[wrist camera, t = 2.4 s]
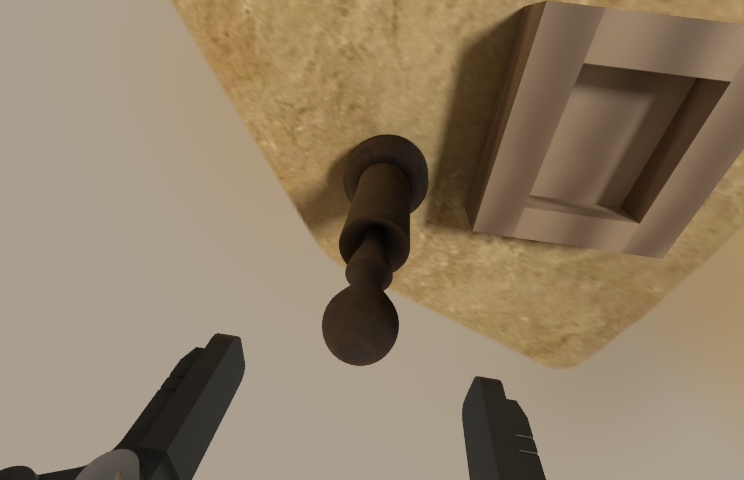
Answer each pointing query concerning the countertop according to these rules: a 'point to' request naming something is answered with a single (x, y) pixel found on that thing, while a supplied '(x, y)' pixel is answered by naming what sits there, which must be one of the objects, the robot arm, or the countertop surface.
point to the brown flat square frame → (609, 128)
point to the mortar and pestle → (374, 246)
